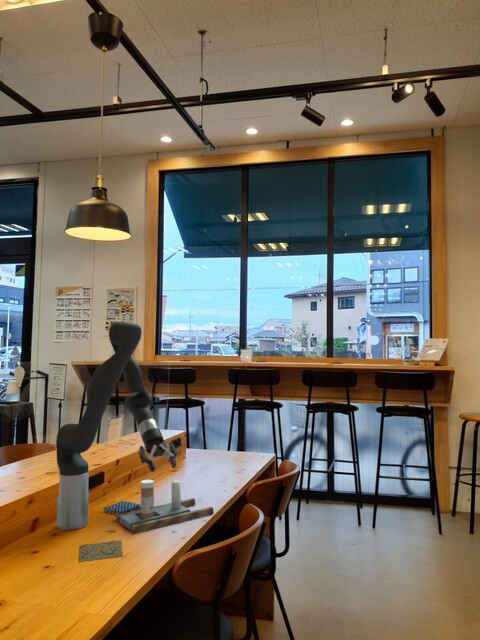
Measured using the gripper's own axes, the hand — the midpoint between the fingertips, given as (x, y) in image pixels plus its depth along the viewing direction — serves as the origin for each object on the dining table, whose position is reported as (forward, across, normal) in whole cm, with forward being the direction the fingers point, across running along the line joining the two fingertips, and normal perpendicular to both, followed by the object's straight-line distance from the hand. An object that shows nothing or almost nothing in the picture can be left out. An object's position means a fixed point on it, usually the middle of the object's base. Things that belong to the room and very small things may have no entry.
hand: (164, 468), depth 175 cm
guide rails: (+16, -4, +4) cm, 17 cm away
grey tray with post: (+16, -8, +4) cm, 19 cm away
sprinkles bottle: (+16, -11, +4) cm, 20 cm away
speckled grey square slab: (+27, -32, -6) cm, 42 cm away
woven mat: (+5, -13, +16) cm, 21 cm away
